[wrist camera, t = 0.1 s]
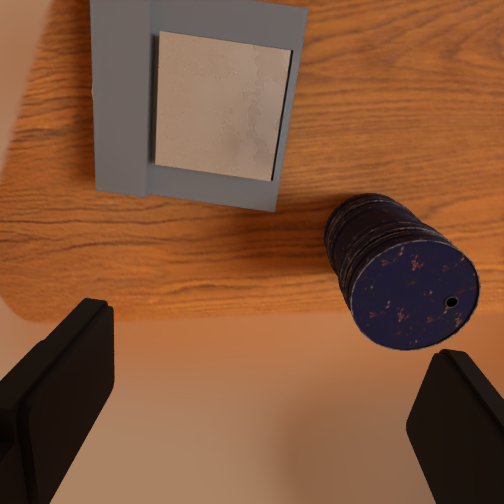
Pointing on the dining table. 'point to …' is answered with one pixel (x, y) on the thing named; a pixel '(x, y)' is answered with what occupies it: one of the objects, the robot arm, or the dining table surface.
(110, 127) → the scale
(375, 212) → the navy cylindrical canister
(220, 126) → the pan
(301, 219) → the dining table surface
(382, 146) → the dining table surface
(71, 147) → the dining table surface
